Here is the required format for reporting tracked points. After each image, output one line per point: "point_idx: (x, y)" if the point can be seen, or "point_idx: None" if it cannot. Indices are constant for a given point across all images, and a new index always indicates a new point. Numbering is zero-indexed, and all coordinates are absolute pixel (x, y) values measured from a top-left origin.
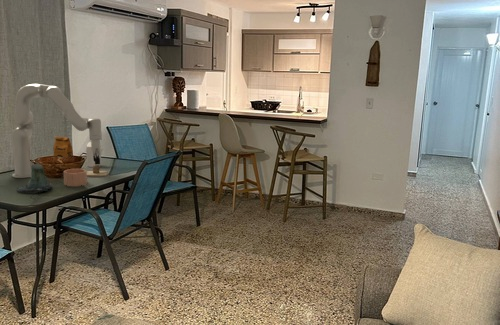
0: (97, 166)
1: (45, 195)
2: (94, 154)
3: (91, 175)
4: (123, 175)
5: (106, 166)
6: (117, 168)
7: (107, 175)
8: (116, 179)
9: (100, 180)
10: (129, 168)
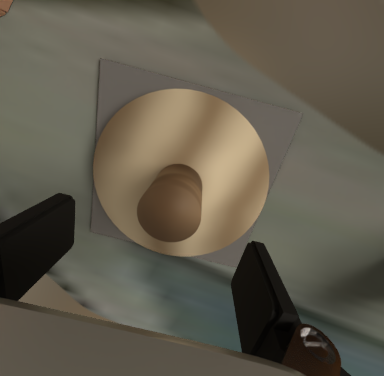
0: (138, 215)
1: None
2: (280, 355)
3: (108, 124)
4: (112, 293)
5: (379, 309)
6: None
7: None
8: None
9: (19, 150)
10: None
